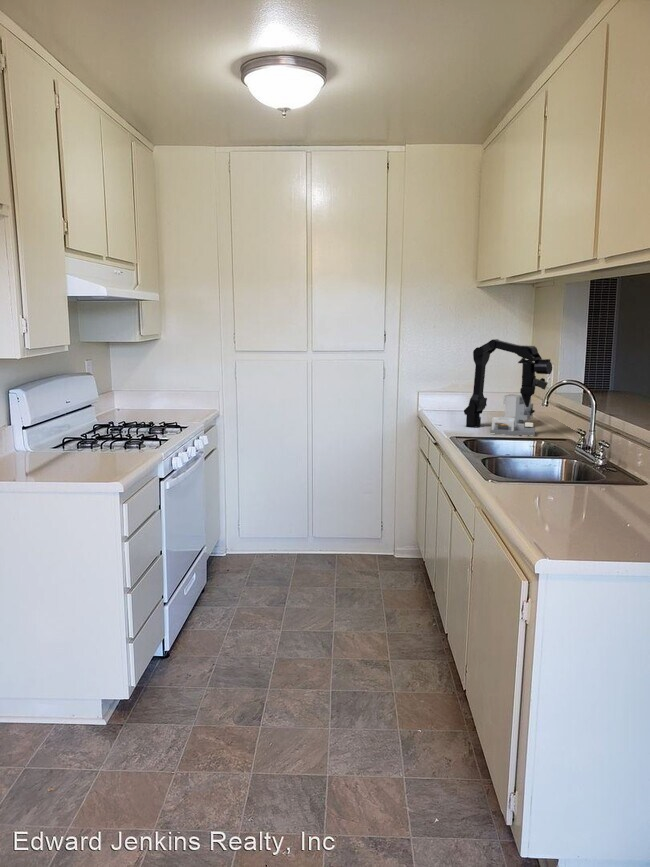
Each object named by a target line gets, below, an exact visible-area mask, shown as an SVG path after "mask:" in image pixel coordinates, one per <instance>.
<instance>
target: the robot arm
mask: <svg viewBox="0 0 650 867" xmlns="http://www.w3.org/2000/svg"><path fill="white" fill-rule="evenodd" d="M496 350H501V351H505V352H509V353H513V354H516V355H517V356H518V357H520V358H521V359H520V360H519V361H517V364H522V369H521V370H522V373H521V374H522V375H521V388H520V390H519V393H520V395H522V397H523V400H524V403H525V405H526V407H529V403H530V398H531V399H532V396H533V395H534V394H535V392H536V387H538V388H540V389H542V390H546V388H547V386H548V382H547V381H546V379H545V378H543V377H542V378H540V379H539V378H536V374H538V375H539V374H540V375H550V374H551V373H552V371H553V365H552V364H553V363H552V362H551V358H549V359H548V358H546V359H545V358H542V356H541V355H540V353H539V351H538V348H537V346H535V345H520V344H515V343H511V342H508V341H503V340H500V339H495V338H494V339H490V341H488V342H486V343H484V344H482V345H481V346H479V347H476V348H474V350H473V352H472V356H473V358H472V359H473V362H474V364H475V367H474V368H475V369H474V379H473V380H474V381H473V389H472V390H473V391H472V395H471V397H470V399H469V402H468V406H467V407H466V408H465V409H463V413H464V415H465V416H466V417H465V418H466V420H465V421H466V422H465V427H467V428H468V427H469V428H480V426H481V423H482V422H481V420H482V417H481V416H480V415H481V414H483V411H484V410H485V408H486V407H487V401H488V398H487V397H485V396H484V389H485V388H484V387H485V378H486V377H485V376H486V375H485V374H486V366H487V364H488V362H489V361H490V356H491V354H492V353H494V352H495V351H496Z"/></svg>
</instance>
